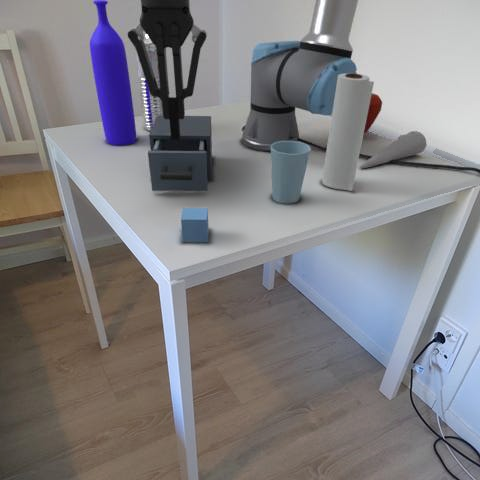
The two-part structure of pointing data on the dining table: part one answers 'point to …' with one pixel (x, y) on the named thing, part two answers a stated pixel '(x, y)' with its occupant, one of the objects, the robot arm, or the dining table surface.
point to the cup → (288, 169)
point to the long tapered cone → (398, 149)
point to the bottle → (112, 81)
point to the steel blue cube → (194, 224)
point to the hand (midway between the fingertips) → (175, 137)
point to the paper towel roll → (346, 130)
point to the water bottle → (149, 102)
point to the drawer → (178, 165)
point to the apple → (373, 111)
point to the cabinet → (186, 133)
